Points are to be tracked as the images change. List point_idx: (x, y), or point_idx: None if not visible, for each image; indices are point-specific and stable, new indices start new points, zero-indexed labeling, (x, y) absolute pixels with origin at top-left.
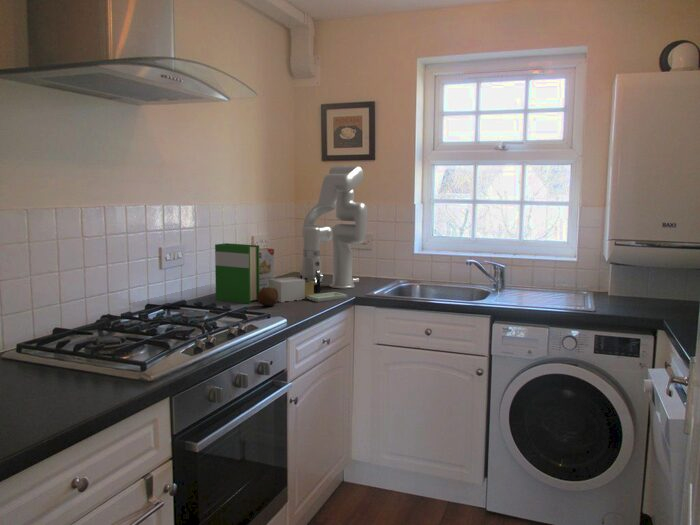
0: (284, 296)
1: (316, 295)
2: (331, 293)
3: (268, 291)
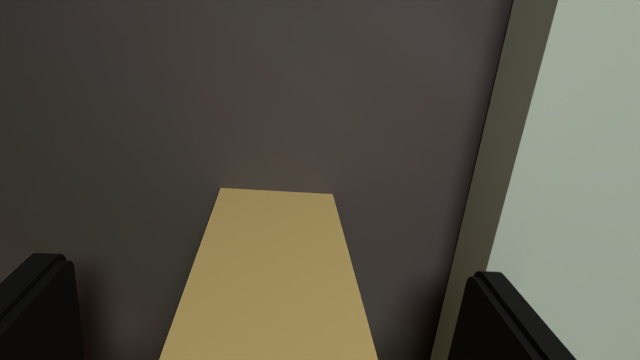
0: None
1: None
2: (589, 24)
3: None
